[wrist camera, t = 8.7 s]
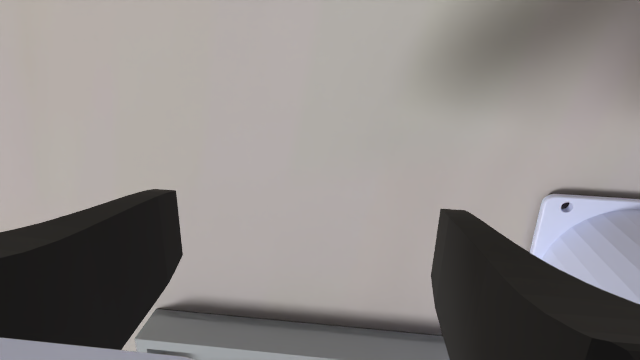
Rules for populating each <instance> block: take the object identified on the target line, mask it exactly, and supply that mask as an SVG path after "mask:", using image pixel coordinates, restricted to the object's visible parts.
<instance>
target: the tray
mask: <svg viewBox="0 0 640 360" xmlns="http://www.w3.org/2000/svg"><path fill="white" fill-rule="evenodd" d="M135 344H136V350H137V352H144V353H153V354H163V355H173V356H182V357H188V358H191V359H194V360H450V359H449V356H448V352H447V348H446V345H445V341H444V338H443V336H438V335H427V334H417V333H406V332H396V331H385V330H374V329H364V328H353V327H343V326H332V325H322V324H311V323H300V322H290V321H279V320H269V319H258V318H247V317H237V316H226V315H216V314H205V313H195V312H184V311H173V310H163V309H156V310H155V311H154V313H153V314H152V315H151V317H150V318H149V319H148V321H147V322H146V324H145V325H144V326H143V328H142V329H141V331H140V332H139V333H138V335H137V336H136V338H135Z"/></svg>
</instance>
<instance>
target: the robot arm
mask: <svg viewBox="0 0 640 360" xmlns="http://www.w3.org/2000/svg"><path fill="white" fill-rule="evenodd" d="M566 202H569V206H568V207H567V208H565V209H561V206H562V204H564V203H566ZM182 255H183V254H182V244H181V235H180V225H179V216H178V206H177V197H176V191H174V190H159V189H153V190H147V191H142V192H138V193H135V194H132V195H128V196H125V197H122V198H119V199H116V200H113V201H110V202H107V203H104V204H101V205H98V206H95V207H92V208H89V209H86V210H82V211H79V212H76V213H72V214H69V215H66V216H63V217H59V218H56V219H53V220H49V221H46V222H42V223H39V224H35V225H31V226H27V227H23V228H18V229H14V230H10V231H5V232H1V233H0V360H194V359H191V358H188V357H182V356H173V355H163V354H153V353H144V352H134V351H124V350H121V349H122V348H123V346H124V345H125V344H126V342H127V341H128V340H129V338H130V337H131V335H132V334H133V333H134V331H135V330H136V328H137V327H138V326H139V324H140V323H141V321H142V320H143V319H144V317H145V316H146V315H147V313H148V312H149V310H150V309H151V308H152V306H153V305H154V303H155V302H156V301H157V299H158V298H159V296H160V295H161V293H162V292H163V291H164V289H165V288H166V286H167V285H168V283H169V281H170V279H171V278H172V276H173V274H174V272H175V270H176V268H177V266H178V264H179V261H180V259H181V257H182ZM431 279H432V287H433V295H434V303H435V309H436V312H437V316H438V320H439V323H440V327H441V331H442V334H443V338H444V341H445V345H446V348H447V352H448V356H449V359H450V360H640V199H629V198H613V197H598V196H582V195H567V194H550V195H548V196H546V197H545V198H544V199H543V201H542V203H541V207H540V211H539V215H538V220H537V224H536V228H535V232H534V236H533V241H532V245H531V249H530V252H528V251H526V250H525V249H523V248H521V247H520V246H518V245H517V244H515V243H514V242H512V241H511V240H509V239H508V238H506V237H505V236H503V235H502V234H500V233H499V232H497V231H496V230H494V229H493V228H492V227H490V226H489V225H487V224H486V223H484V222H483V221H481V220H480V219H478V218H477V217H475V216H474V215H472V214H471V213H469V212H467V211H465V210H451V209H441V210H440V217H439V224H438V231H437V238H436V245H435V252H434V259H433V266H432V272H431Z"/></svg>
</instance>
